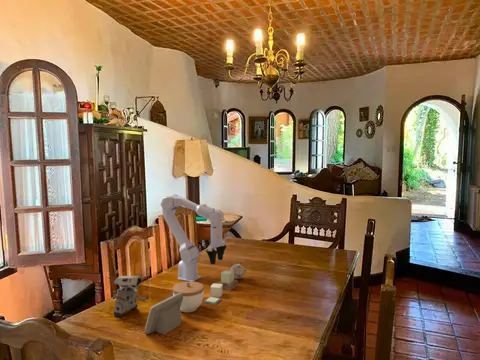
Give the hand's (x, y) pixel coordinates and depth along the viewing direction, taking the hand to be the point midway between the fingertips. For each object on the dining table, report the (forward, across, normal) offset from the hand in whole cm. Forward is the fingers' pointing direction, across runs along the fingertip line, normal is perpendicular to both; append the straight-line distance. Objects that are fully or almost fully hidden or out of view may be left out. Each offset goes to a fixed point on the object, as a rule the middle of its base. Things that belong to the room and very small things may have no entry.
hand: (216, 261), depth 173 cm
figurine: (+10, -45, +15) cm, 48 cm away
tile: (+10, -22, -10) cm, 26 cm away
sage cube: (+7, -4, -8) cm, 12 cm away
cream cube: (+10, -15, -8) cm, 20 cm away
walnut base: (+10, -4, -8) cm, 14 cm away
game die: (+10, +7, -8) cm, 15 cm away
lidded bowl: (+10, -32, -4) cm, 34 cm away
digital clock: (+10, -48, -4) cm, 50 cm away
